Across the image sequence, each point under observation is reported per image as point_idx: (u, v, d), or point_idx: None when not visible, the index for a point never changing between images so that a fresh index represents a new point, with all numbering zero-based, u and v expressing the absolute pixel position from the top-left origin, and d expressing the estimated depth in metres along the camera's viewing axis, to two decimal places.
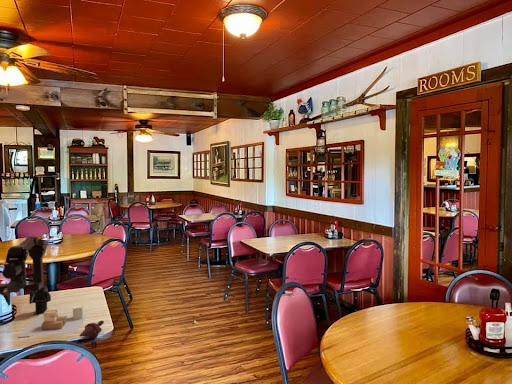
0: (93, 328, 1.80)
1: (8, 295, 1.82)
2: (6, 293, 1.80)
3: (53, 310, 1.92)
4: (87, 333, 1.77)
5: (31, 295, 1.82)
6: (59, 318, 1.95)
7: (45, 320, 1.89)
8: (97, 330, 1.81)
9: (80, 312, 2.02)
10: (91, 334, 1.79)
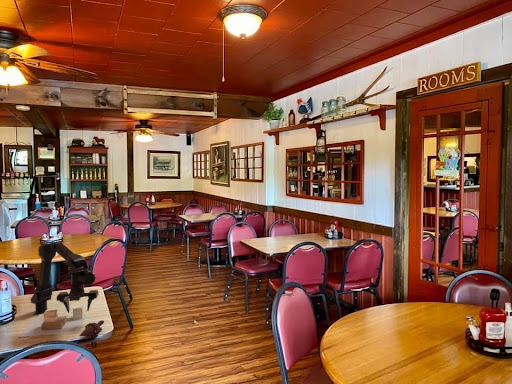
0: (93, 328, 1.80)
1: (67, 303, 1.94)
2: (66, 301, 1.92)
3: (53, 310, 1.92)
4: (87, 333, 1.77)
5: (89, 303, 1.94)
6: (59, 318, 1.95)
7: (45, 320, 1.89)
8: (97, 329, 1.81)
9: (80, 312, 2.02)
10: (91, 334, 1.79)
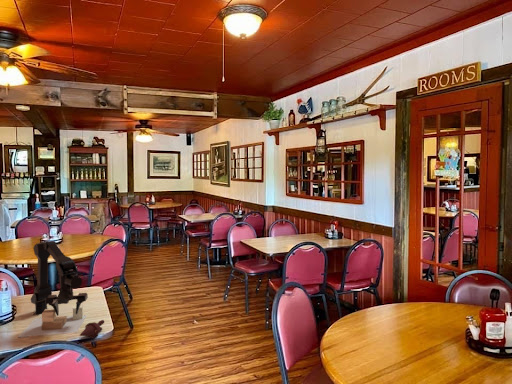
0: (93, 328, 1.80)
1: (57, 306, 1.93)
2: (55, 304, 1.91)
3: (51, 310, 1.92)
4: (87, 332, 1.77)
5: (78, 306, 1.93)
6: (59, 318, 1.95)
7: (43, 320, 1.89)
8: (97, 329, 1.81)
9: (80, 312, 2.02)
10: (91, 334, 1.79)
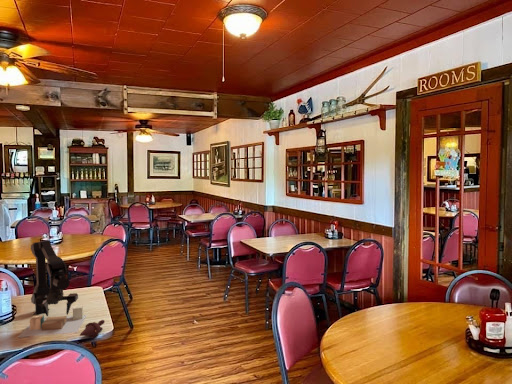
0: (93, 327, 1.80)
1: (46, 306, 1.92)
2: (45, 304, 1.90)
3: None
4: (87, 332, 1.78)
5: (68, 306, 1.92)
6: (59, 318, 1.95)
7: (38, 327, 1.89)
8: (97, 329, 1.81)
9: (80, 312, 2.02)
10: (91, 334, 1.80)
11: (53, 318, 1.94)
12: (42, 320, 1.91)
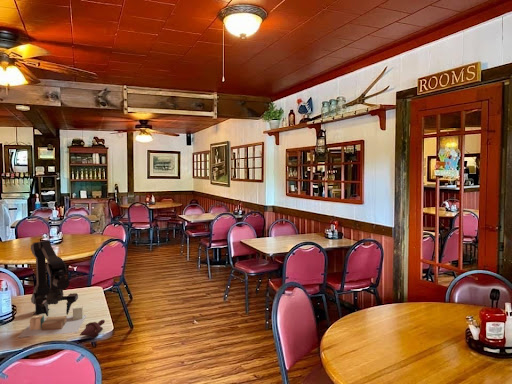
0: (93, 327, 1.81)
1: (46, 306, 1.92)
2: (45, 304, 1.90)
3: None
4: (87, 332, 1.78)
5: (68, 306, 1.92)
6: (59, 318, 1.95)
7: (38, 327, 1.89)
8: (98, 329, 1.82)
9: (80, 312, 2.02)
10: (91, 333, 1.80)
11: (53, 318, 1.94)
12: (42, 320, 1.91)
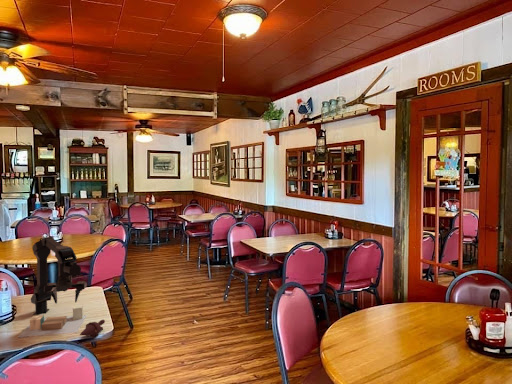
0: (94, 327, 1.81)
1: (55, 294, 1.92)
2: (54, 292, 1.91)
3: None
4: (87, 332, 1.78)
5: (77, 294, 1.93)
6: (59, 318, 1.95)
7: (38, 327, 1.89)
8: (98, 329, 1.82)
9: (80, 312, 2.02)
10: (92, 333, 1.80)
11: (53, 318, 1.94)
12: (42, 320, 1.91)
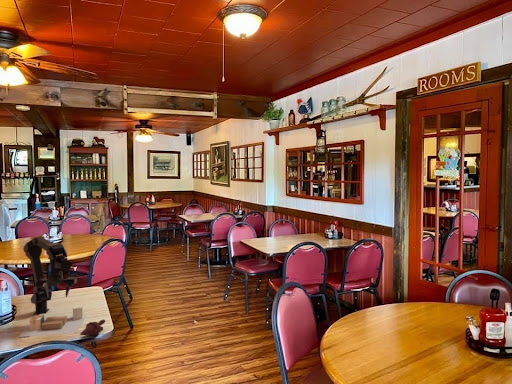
0: (94, 327, 1.81)
1: (46, 289, 1.99)
2: (45, 287, 1.98)
3: None
4: (87, 332, 1.78)
5: (67, 289, 2.00)
6: (59, 318, 1.95)
7: (38, 327, 1.89)
8: (98, 329, 1.82)
9: (80, 312, 2.02)
10: (92, 333, 1.80)
11: (53, 318, 1.94)
12: (42, 320, 1.91)
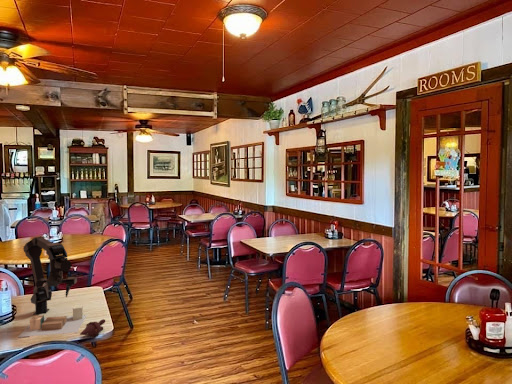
0: (94, 327, 1.81)
1: (46, 289, 1.99)
2: (45, 287, 1.98)
3: None
4: (88, 332, 1.78)
5: (67, 289, 2.00)
6: (59, 318, 1.95)
7: (38, 327, 1.89)
8: (98, 328, 1.82)
9: (80, 312, 2.02)
10: (92, 333, 1.80)
11: (53, 318, 1.94)
12: (42, 320, 1.91)
